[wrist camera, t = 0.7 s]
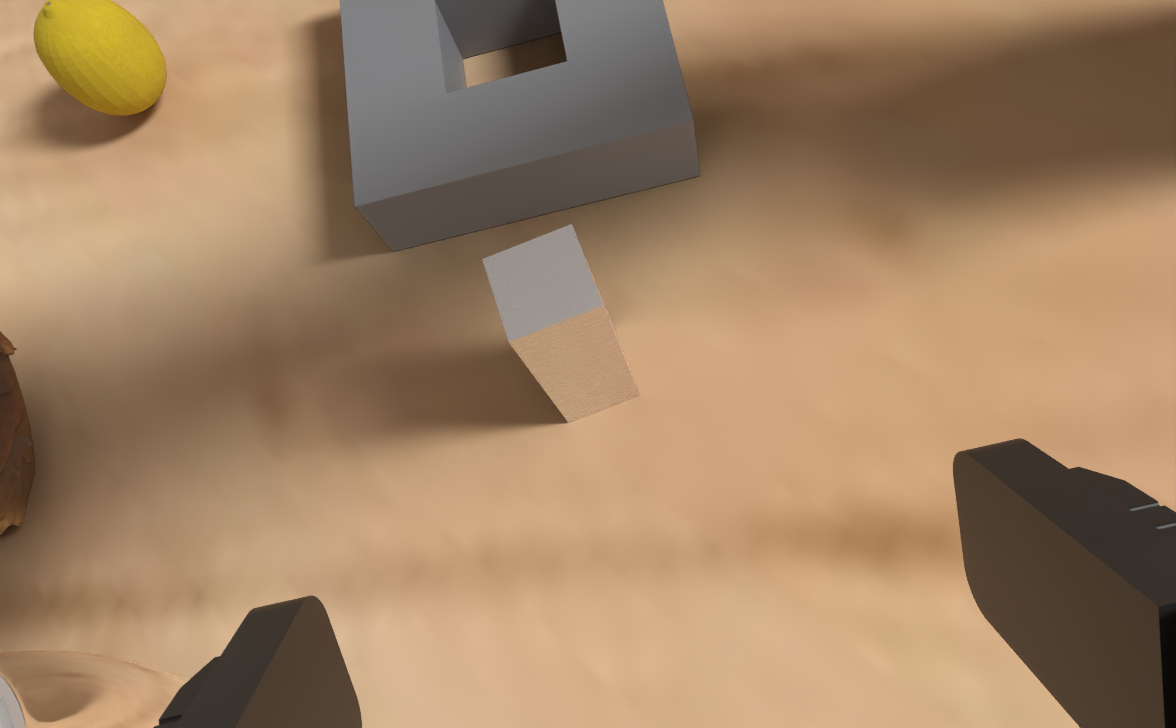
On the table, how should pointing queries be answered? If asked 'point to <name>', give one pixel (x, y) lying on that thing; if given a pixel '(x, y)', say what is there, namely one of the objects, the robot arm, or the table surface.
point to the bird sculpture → (13, 444)
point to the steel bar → (560, 323)
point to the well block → (507, 112)
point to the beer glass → (81, 691)
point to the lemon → (100, 55)
